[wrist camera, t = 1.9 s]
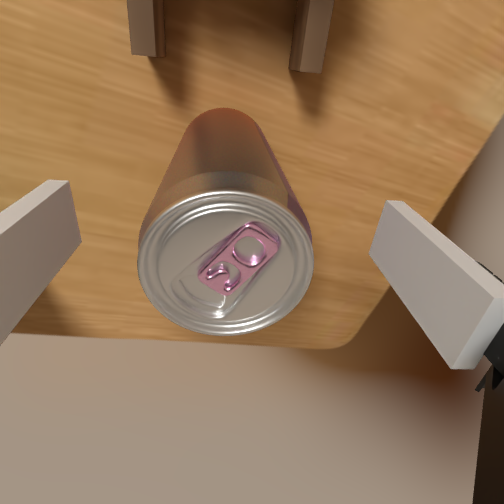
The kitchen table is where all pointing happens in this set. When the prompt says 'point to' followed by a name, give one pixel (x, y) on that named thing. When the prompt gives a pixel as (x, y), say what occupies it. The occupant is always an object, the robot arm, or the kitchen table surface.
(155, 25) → the bracket
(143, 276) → the beverage can
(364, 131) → the kitchen table surface
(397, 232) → the robot arm
